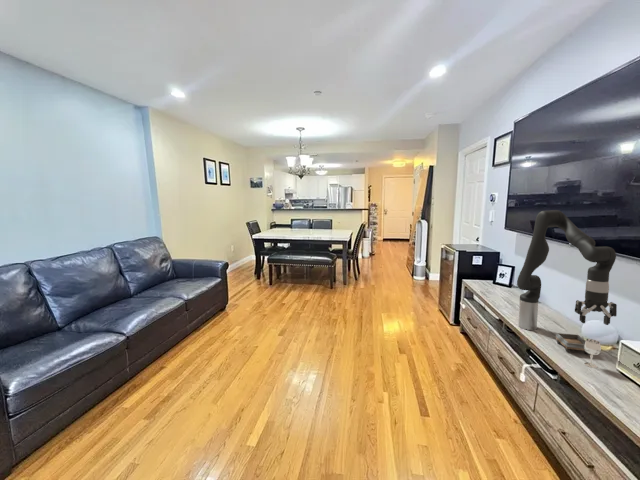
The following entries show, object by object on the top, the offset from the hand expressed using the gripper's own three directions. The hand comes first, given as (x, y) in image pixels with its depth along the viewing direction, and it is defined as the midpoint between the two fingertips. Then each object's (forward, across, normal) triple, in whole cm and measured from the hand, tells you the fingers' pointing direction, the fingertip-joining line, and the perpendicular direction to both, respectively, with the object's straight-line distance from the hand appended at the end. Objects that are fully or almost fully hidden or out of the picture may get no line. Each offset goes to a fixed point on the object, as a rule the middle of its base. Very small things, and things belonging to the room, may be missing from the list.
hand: (594, 323), depth 129 cm
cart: (+21, 0, -16) cm, 26 cm away
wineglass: (+21, 0, 0) cm, 21 cm away
